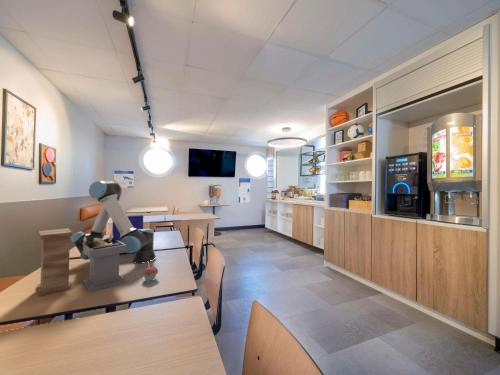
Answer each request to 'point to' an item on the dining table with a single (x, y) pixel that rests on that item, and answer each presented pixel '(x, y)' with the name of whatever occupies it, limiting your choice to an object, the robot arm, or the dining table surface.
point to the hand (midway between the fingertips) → (99, 237)
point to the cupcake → (150, 273)
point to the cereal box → (136, 223)
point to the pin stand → (54, 261)
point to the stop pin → (102, 244)
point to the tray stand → (104, 267)
